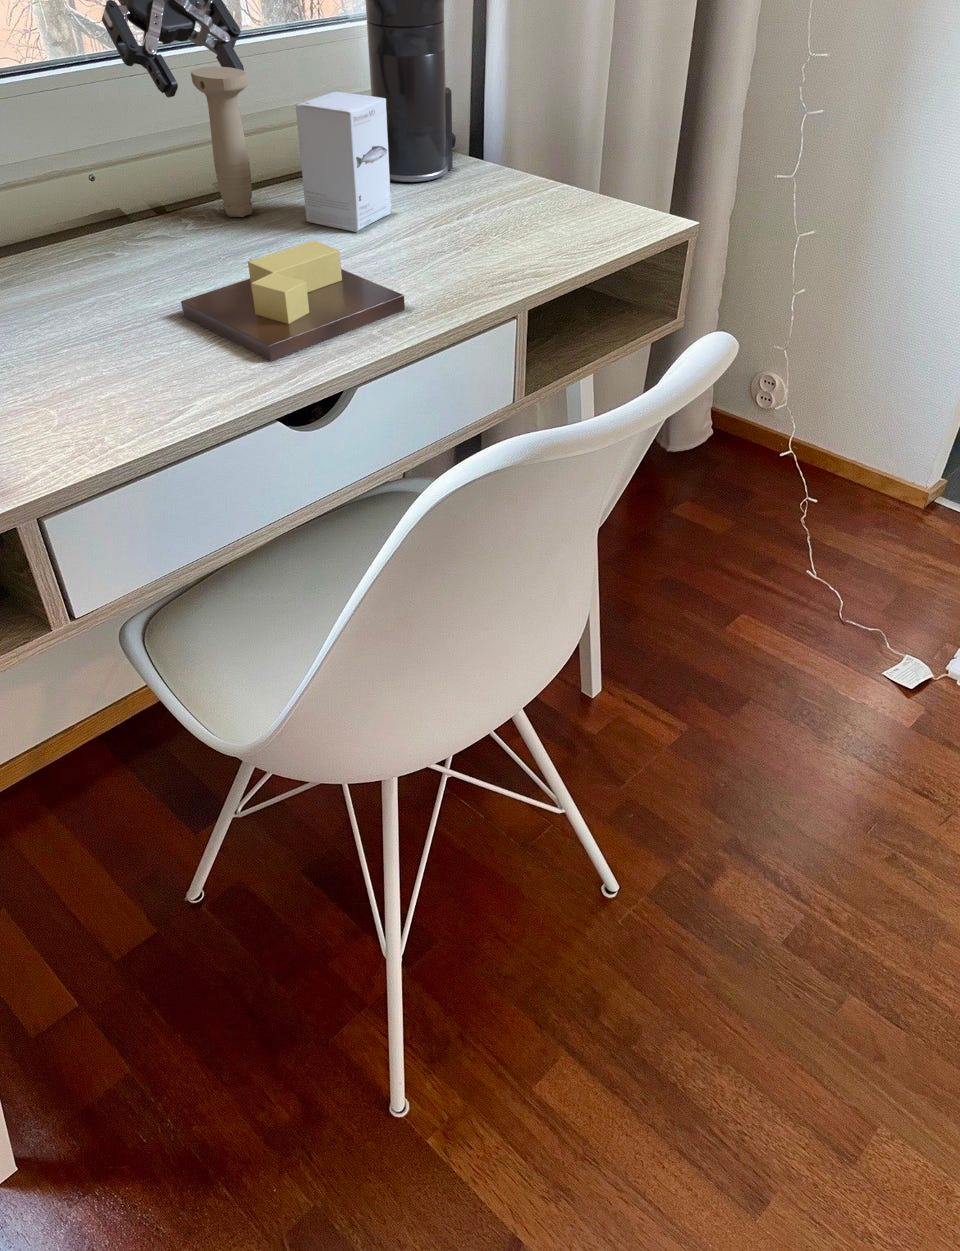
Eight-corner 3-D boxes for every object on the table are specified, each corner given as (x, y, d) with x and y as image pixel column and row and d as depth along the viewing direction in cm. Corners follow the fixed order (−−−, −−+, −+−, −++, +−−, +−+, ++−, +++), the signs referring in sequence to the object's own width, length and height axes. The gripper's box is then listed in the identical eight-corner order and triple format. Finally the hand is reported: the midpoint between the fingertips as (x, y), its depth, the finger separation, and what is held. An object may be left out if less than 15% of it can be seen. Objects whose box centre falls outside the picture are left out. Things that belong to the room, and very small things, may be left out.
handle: (241, 225, 119) (220, 81, 110) (205, 213, 122) (181, 72, 113) (273, 214, 122) (255, 72, 113) (237, 203, 125) (216, 64, 116)
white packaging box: (358, 233, 117) (349, 112, 109) (304, 222, 120) (292, 103, 112) (393, 214, 122) (387, 96, 114) (341, 204, 125) (332, 88, 117)
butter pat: (276, 303, 98) (272, 272, 96) (309, 312, 97) (306, 281, 95) (255, 314, 96) (250, 282, 95) (288, 324, 95) (284, 292, 93)
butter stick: (316, 269, 105) (313, 240, 103) (342, 280, 103) (339, 250, 101) (251, 292, 100) (247, 261, 99) (277, 303, 98) (273, 272, 96)
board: (315, 271, 109) (313, 257, 108) (405, 309, 101) (404, 294, 100) (183, 316, 100) (180, 300, 99) (271, 361, 92) (268, 345, 91)
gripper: (77, -68, 107) (159, 73, 108) (195, -79, 115) (270, 53, 116) (64, -15, 113) (142, 119, 115) (176, -29, 121) (248, 96, 122)
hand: (206, 86), depth 115 cm, fingers open, 8 cm apart
